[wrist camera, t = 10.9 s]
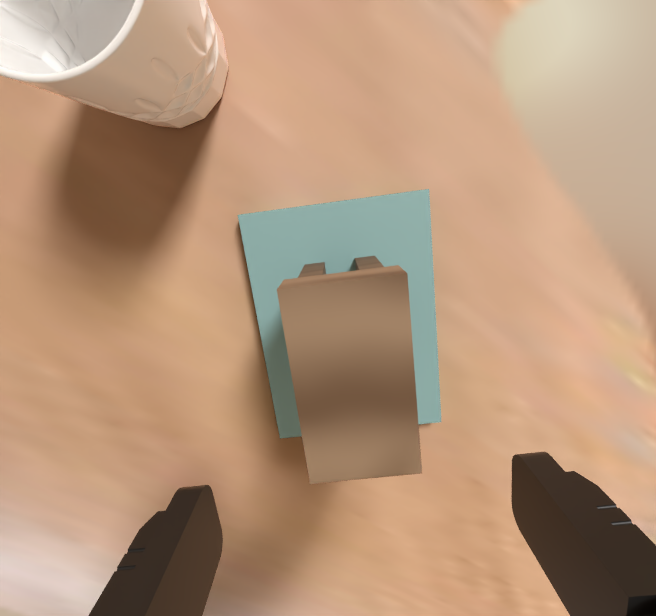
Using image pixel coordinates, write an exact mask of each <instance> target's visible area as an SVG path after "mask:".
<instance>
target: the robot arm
mask: <svg viewBox="0 0 656 616" xmlns="http://www.w3.org/2000/svg"><path fill="white" fill-rule="evenodd" d="M512 509H513V514H514V517H515V520H516V523H517V525H518V528H519V530H520V532H521V533H522V535H523V537H524V538H525V540H526V542H527V543H528V545H529V547H530V548H531V550H532V552H533V554H534V555H535V557H536V559H537V560H538V562H539V564H540V565H541V567H542V569H543V570H544V572H545V574H546V576H547V577H548V579H549V581H550V582H551V584H552V586H553V587H554V589H555V591H556V592H557V594H558V596H559V597H560V599H561V601H562V603H563V604H564V606H565V608H566V609H567V611H568V613H569V614H570V616H656V545H655V544H654V543H653V542H652V541H651V540H650V539H649V538H648V537H647V536H646V535H645V534H644V533H643V532H642V531H641V530H640V529H639V528H638V527H637V526H636V525H633V524H632V522H631V519H630V518H629V517H628V516H627V515H626V514H625V513H624V512H623V511H622V510H621V509H620V508H617V507H616V504H615V503H614V502H613V501H612V500H611V499H610V498H609V497H608V496H607V495H606V494H605V493H604V492H603V491H602V490H601V489H600V488H599V486H597V485H596V484H594V483H593V482H591V481H589V480H588V479H586V478H584V477H583V476H581V475H580V474H578V473H576V472H575V471H571V472H565V471H564V470H563V469H562V468H561V467H560V466H559V464H558V463H557V462H556V461H555V460H554V459H553V458H552V457H551V456H550V455H549V454H548V453H546V452H537V453H527V454H517V455H514V456H513V459H512ZM222 541H223V538H222V529H221V525H220V521H219V517H218V513H217V509H216V505H215V501H214V497H213V493H212V489H211V487H210V486H209V485H202V486H193V487H183V488H179V489H178V490H177V491H176V493H175V495H174V496H173V498H172V500H171V502H170V504H169V506H168V507H167V509H166V511H158V512H157V513H156V514H155V515H154V516H153V517H152V518H151V519H150V520H149V521H148V522H147V523H146V524H145V525H144V526H143V527H142V528H141V529H140V530H139V532H138V533H137V535H136V537H135V538H134V540H133V542H132V543H131V545H130V547H129V548H128V553H127V554H125V555H124V557H123V558H122V560H121V562H120V564H119V565H118V569H117V571H116V572H114V574H113V575H112V577H111V579H110V580H109V582H108V584H107V585H106V587H105V589H104V591H103V592H102V594H101V596H100V597H99V599H98V601H97V602H96V604H95V606H94V607H93V609H92V611H91V612H90V614H89V616H202V614H203V611H204V608H205V605H206V601H207V598H208V595H209V592H210V589H211V586H212V582H213V579H214V576H215V573H216V570H217V566H218V563H219V560H220V557H221V552H222Z"/></svg>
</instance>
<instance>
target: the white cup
mask: <svg viewBox="0 0 656 616" xmlns="http://www.w3.org/2000/svg"><path fill="white" fill-rule="evenodd" d="M228 68H229V66H228V61H227V55H226V49H225V43H224V37H223V34H222V32H221V30H220V28H219V26H218V25H217V23H216V21H215V19H214V17H213V16H212V14H211V11H210V8H209V5H208V3H207V0H0V75H1V76H4V77H7V78H10V79H12V80H15V81H18V82H21V83H24V84H27V85H30V86H33V87H36V88H39V89H42V90H45V91H48V92H51V93H54V94H56V95H59V96H62V97H65V98H68V99H71V100H74V101H77V102H79V103H82V104H85V105H88V106H91V107H94V108H97V109H100V110H104V111H107V112H111V113H114V114H117V115H120V116H123V117H127V118H130V119H134V120H139V121H143V122H146V123H148V124H151V125H155V126H164V127H173V128H183V127H185V126H187V125H190V124H192V123H195V122H197V121H199V120H202V119H204V118H205V117H206V116H207V115H208V114H209V112H210V111H211V110H212V109H213V107H214V106H215V105H216V104H217V102H218V101H219V100H220V99H221V97H222V94H223V90H224V86H225V81H226V77H227V73H228Z"/></svg>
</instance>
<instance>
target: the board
mask: <svg viewBox="0 0 656 616" xmlns="http://www.w3.org/2000/svg"><path fill="white" fill-rule="evenodd" d="M238 219H239V224H240V230H241V235H242V240H243V245H244V251H245V256H246V261H247V267H248V272H249V277H250V282H251V288H252V293H253V298H254V304H255V309H256V314H257V319H258V325H259V330H260V335H261V341H262V346H263V351H264V356H265V362H266V367H267V372H268V378H269V383H270V388H271V393H272V399H273V404H274V409H275V415H276V420H277V425H278V430H279V436H280V438H290V437H300V436H302V434H301V428H300V422H299V417H298V411H297V405H296V399H295V393H294V387H293V382H292V376H291V370H290V364H289V358H288V353H287V347H286V341H285V335H284V329H283V323H282V318H281V312H280V306H279V300H278V294H277V288H278V287H279V286H280V284H281V283H282V281H283V280H285V279H293V278H298V276H299V274H300V272H301V271H302V269H303V267H304V265H305V264H312V263H320V262H325V269H326V274H332V273H340V272H348V271H356V266H355V258H359V257H367V256H376V258H377V259H378V260H379V261H380V262H381V263H382V265H383V266H384V267H388V266H396V265H399V266H400V267H401V268H402V269H403V270H404V271H405V272H407V275H408V288H409V302H410V315H411V329H412V343H413V356H414V370H415V383H416V397H417V411H418V424H426V423H436V422H441V406H440V387H439V368H438V349H437V330H436V312H435V293H434V274H433V255H432V236H431V218H430V199H429V189H426V190H419V191H411V192H404V193H397V194H389V195H382V196H374V197H367V198H360V199H352V200H345V201H337V202H330V203H323V204H315V205H308V206H300V207H293V208H286V209H278V210H271V211H263V212H256V213H249V214H241V215H238Z"/></svg>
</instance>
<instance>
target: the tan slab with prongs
mask: <svg viewBox="0 0 656 616" xmlns="http://www.w3.org/2000/svg"><path fill="white" fill-rule="evenodd" d="M355 266H356V271H348V272H340V273H332V274H326V269H325V262H320V263H312V264H305V265H304V267H303V269H302V271H301V272H300V274H299V276H298V278H293V279H285V280H283V281H282V283H281V284H280V286H279V287H278V288H277V294H278V300H279V306H280V312H281V318H282V323H283V329H284V335H285V341H286V347H287V353H288V358H289V364H290V370H291V376H292V382H293V387H294V393H295V399H296V405H297V411H298V417H299V422H300V428H301V434H302V440H303V446H304V451H305V457H306V463H307V469H308V475H309V481H310V484H317V483H327V482H337V481H348V480H358V479H368V478H379V477H389V476H399V475H410V474H420V473H422V465H421V452H420V438H419V424H418V411H417V397H416V383H415V370H414V356H413V343H412V329H411V315H410V302H409V288H408V275H407V272H405V271H404V270H403V269H402V268H401V267H400V266H399V265H396V266H388V267H384V266H383V265H382V263H381V262H380V261H379V260H378V259H377V258H376V256H367V257H359V258H355Z"/></svg>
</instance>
